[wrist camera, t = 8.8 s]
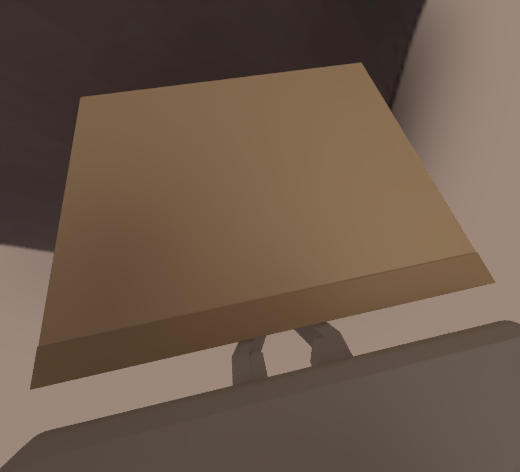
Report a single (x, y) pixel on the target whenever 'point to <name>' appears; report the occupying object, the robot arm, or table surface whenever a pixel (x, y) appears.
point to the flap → (239, 219)
